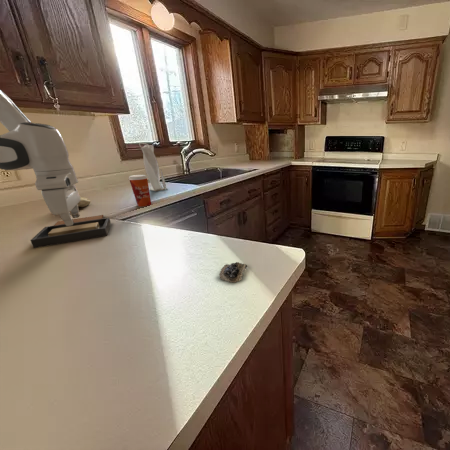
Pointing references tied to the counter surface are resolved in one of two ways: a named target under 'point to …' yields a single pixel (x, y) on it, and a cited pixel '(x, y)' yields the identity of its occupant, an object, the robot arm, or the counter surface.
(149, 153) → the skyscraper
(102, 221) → the tray
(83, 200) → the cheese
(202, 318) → the counter surface
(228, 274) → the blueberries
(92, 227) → the board
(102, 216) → the brown flat block
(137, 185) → the paper cup
